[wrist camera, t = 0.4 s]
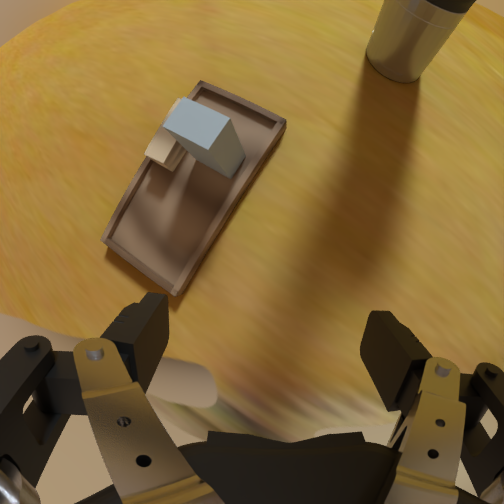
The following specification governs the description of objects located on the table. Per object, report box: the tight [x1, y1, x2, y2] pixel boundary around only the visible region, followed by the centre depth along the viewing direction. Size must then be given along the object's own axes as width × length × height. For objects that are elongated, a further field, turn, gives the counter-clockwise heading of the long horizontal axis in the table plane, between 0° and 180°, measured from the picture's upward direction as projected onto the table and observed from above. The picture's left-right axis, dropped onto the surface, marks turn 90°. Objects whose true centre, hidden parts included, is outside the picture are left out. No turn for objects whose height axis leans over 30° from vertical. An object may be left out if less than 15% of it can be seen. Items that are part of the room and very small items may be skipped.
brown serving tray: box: [100, 80, 286, 297], centre depth 35 cm, size 25×13×2 cm, turn 148°
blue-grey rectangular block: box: [163, 97, 246, 179], centre depth 29 cm, size 3×5×11 cm, turn 58°
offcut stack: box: [144, 98, 187, 172], centre depth 33 cm, size 9×4×4 cm, turn 148°
